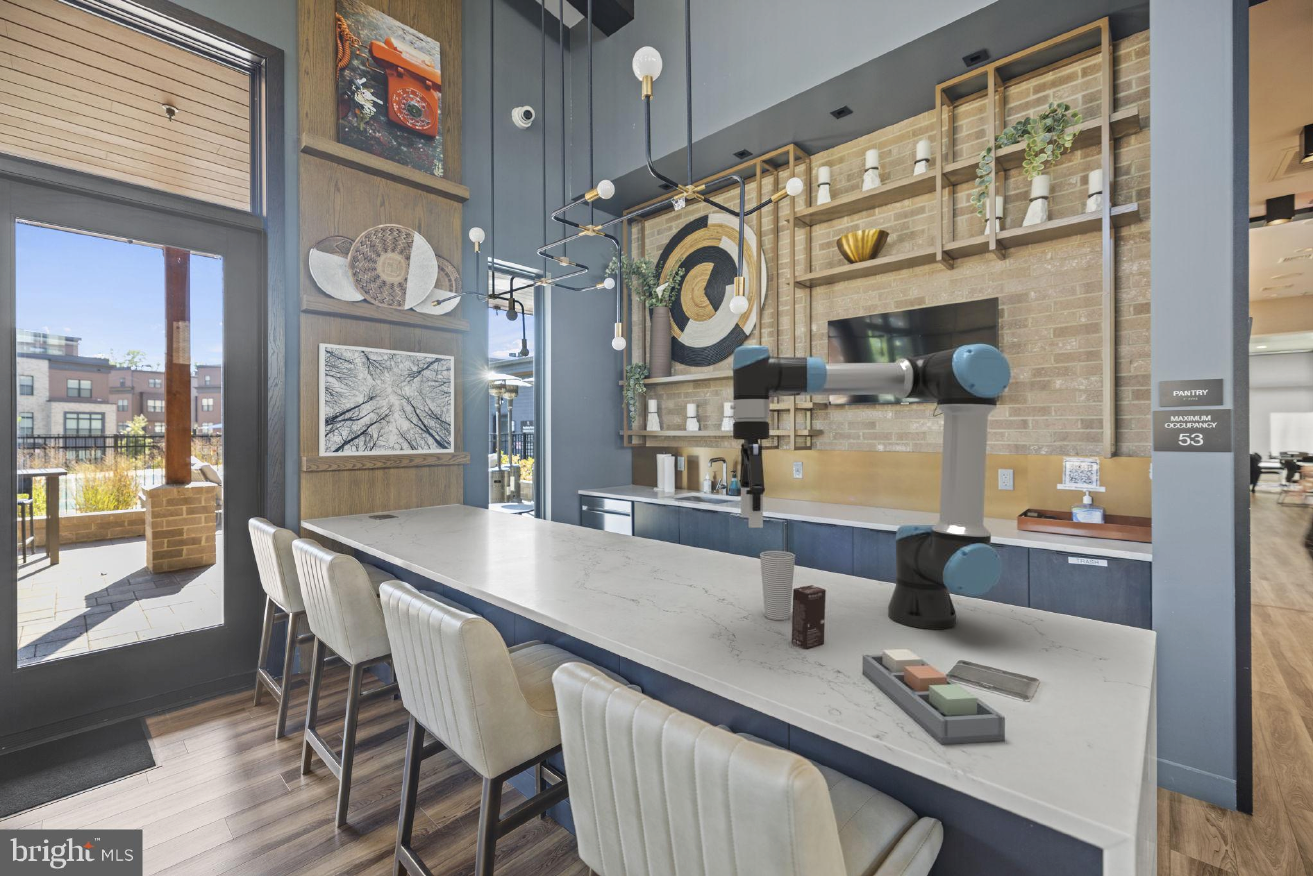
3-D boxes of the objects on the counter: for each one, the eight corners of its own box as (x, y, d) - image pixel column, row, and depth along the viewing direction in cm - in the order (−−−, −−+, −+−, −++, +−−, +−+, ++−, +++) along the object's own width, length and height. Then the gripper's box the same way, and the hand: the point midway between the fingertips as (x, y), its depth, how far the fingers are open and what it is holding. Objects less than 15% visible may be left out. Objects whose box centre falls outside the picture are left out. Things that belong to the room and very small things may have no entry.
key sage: (957, 699, 93) (957, 684, 93) (976, 714, 88) (977, 697, 88) (928, 701, 92) (929, 685, 92) (947, 715, 87) (947, 699, 87)
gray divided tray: (912, 671, 110) (912, 653, 110) (1004, 740, 86) (1004, 717, 85) (862, 673, 109) (862, 655, 109) (941, 744, 84) (941, 720, 84)
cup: (799, 615, 144) (799, 553, 144) (787, 624, 137) (788, 559, 137) (767, 609, 149) (767, 549, 149) (754, 618, 142) (754, 555, 142)
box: (807, 650, 121) (807, 593, 121) (791, 643, 125) (791, 588, 125) (826, 644, 124) (826, 588, 124) (810, 638, 128) (810, 584, 128)
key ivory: (907, 662, 108) (907, 649, 107) (921, 673, 103) (921, 659, 103) (882, 663, 107) (882, 650, 107) (895, 674, 102) (895, 660, 102)
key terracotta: (930, 679, 100) (930, 665, 100) (947, 692, 95) (947, 677, 95) (904, 680, 100) (904, 666, 100) (919, 693, 95) (919, 678, 95)
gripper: (727, 421, 133) (727, 513, 134) (739, 419, 109) (739, 532, 109) (760, 421, 133) (760, 513, 133) (779, 419, 108) (780, 532, 109)
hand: (751, 522), depth 121 cm, fingers open, 13 cm apart
